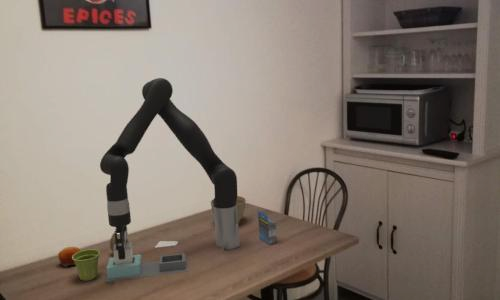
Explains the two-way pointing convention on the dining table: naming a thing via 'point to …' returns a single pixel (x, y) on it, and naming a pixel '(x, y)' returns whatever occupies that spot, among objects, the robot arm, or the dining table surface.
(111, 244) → the decorative egg
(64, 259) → the fruit
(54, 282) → the dining table surface
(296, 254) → the dining table surface
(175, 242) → the external hard drive
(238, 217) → the planter bowl
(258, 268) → the dining table surface
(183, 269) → the panel
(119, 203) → the robot arm
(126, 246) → the plug
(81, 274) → the plant pot
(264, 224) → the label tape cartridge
